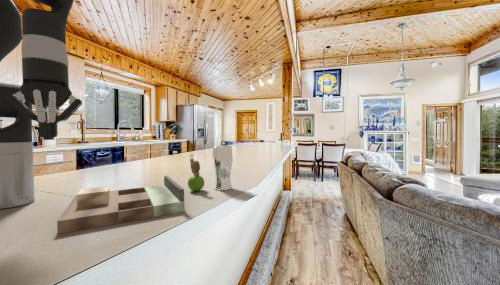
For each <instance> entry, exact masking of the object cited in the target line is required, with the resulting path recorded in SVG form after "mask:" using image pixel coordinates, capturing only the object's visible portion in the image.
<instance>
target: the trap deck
mask: <svg viewBox="0 0 500 285" xmlns="http://www.w3.org/2000/svg"><path fill="white" fill-rule="evenodd" d="M163 181H164V182H163V185H162V184H160V185H153V186H145V187H136V188H127V189H126V188H125V189H118V190H109V196H110V198H109V203H108V204H101V205H94V206H87V207H79V208H77V194H76V195H75V196H74V198H73V199H72V200H71V201H70V203H69V204H68V206H67V207H66V208H65V209H64V211H63V213H62V214H61V215H60V217H59V218H58V220H57V221H56V224H57V225H56V226H57V230H56V231H57V235H62V234H66V233H71V232H77V231H78V232H79V231H82V230H88V229H94V228H99V227H104V226H110V225H115V224H121V223H122V224H123V223H126V222H132V221H133V222H134V221H139V220H143V219H148V218H154V217H160V216H165V215H170V214H171V215H172V214H176V213H183V212H185V188H183V187H182V186H181V185H180V184H178V182H176V181H174V180H173V178H171V177H169V176H168V175H164V176H163Z"/></svg>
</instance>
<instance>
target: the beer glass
mask: <svg viewBox="0 0 500 285" xmlns="http://www.w3.org/2000/svg"><path fill="white" fill-rule="evenodd" d="M233 158H234V157H233V146H232V145H212V165H213V172H214V178H215V180H214V181H215V183H214V188H215V189H219V190H218V191H226V190H225V189H229V190H231V189H232V188H233V186H232V181H231V175H232V169H233ZM230 188H231V189H230ZM215 189H214V190H215Z"/></svg>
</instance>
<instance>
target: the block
mask: <svg viewBox="0 0 500 285" xmlns="http://www.w3.org/2000/svg"><path fill="white" fill-rule="evenodd" d="M109 191H110V186H99V187H90V188H89V187H88V188H81V189H79V191H78V193H77V194H76V195H77V208H79V207H87V206H94V205H101V204H108V203H109V198H110V196H109Z"/></svg>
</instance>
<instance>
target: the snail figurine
mask: <svg viewBox="0 0 500 285" xmlns="http://www.w3.org/2000/svg"><path fill="white" fill-rule="evenodd" d="M189 157H190V160H189V161H190V170H191V174H193V175H191V176H190V177H189V179H188V181H187V186H188V188H189V189H190V191H193V192H198V191H199V192H200V191H201V190H202V189H203V188H204V186H205V179H204V178H203V176H201V175H200V169H201V164H200V161H199V160H197V159H196V160H194V158H193V157H194V154H190V155H189Z"/></svg>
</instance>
